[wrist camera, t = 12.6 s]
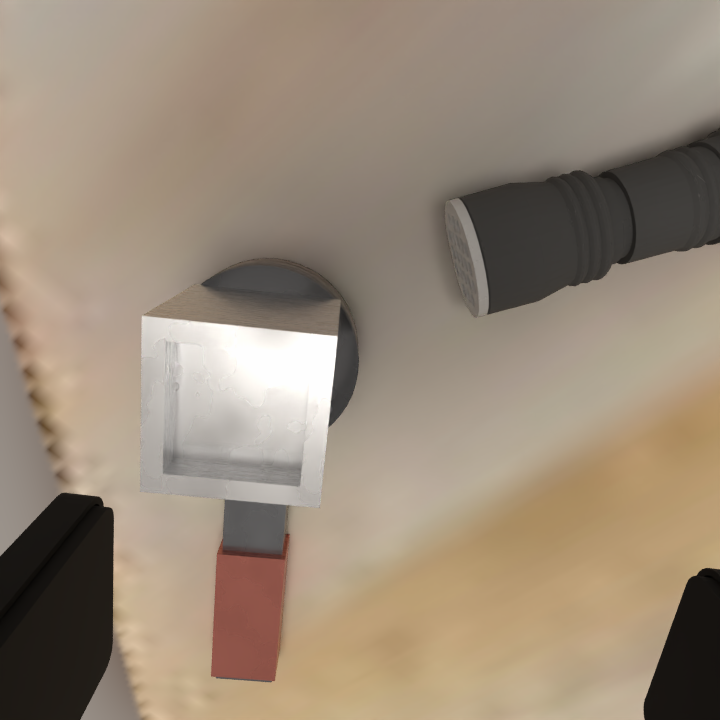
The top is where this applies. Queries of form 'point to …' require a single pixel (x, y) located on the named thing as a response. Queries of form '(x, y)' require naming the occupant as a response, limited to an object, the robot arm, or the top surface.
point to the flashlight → (581, 225)
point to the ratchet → (264, 520)
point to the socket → (237, 395)
